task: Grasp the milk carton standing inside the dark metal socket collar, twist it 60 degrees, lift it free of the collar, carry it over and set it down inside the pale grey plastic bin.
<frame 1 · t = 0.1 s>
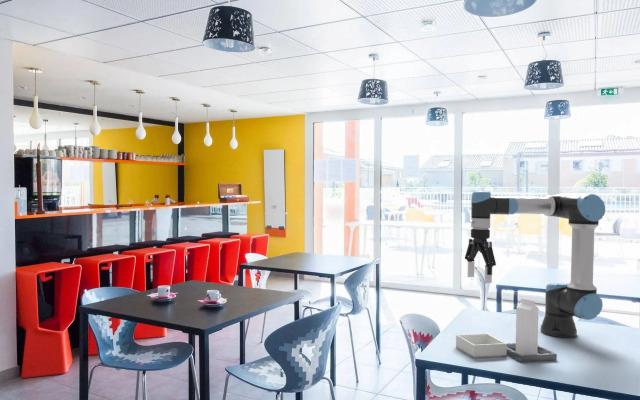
hand: (479, 279, 209), 28 cm above the table, fingers open, 13 cm apart
bin: (480, 351, 203), on the table
collar: (526, 354, 200), on the table
milk: (526, 355, 200), resting in collar
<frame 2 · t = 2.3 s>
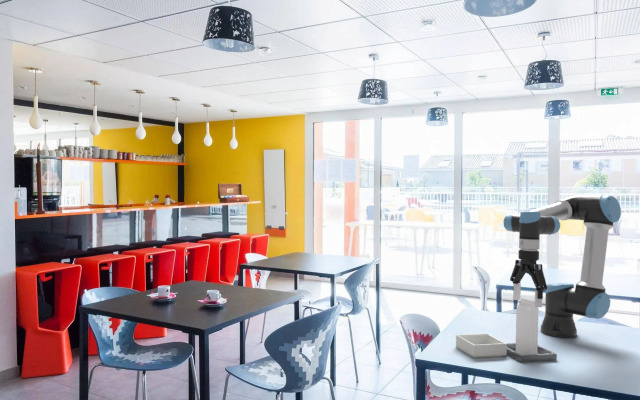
hand: (527, 303, 200), 21 cm above the table, fingers open, 13 cm apart
nothing on the table moved.
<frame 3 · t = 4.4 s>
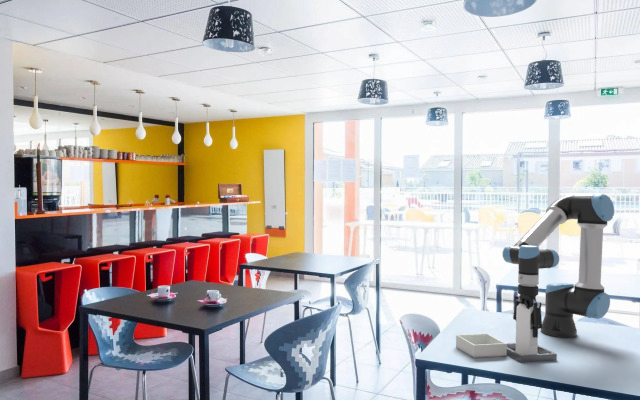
hand: (526, 341, 200), 5 cm above the table, fingers closed on milk, 8 cm apart
milk: (526, 355, 200), resting in collar, touching gripper
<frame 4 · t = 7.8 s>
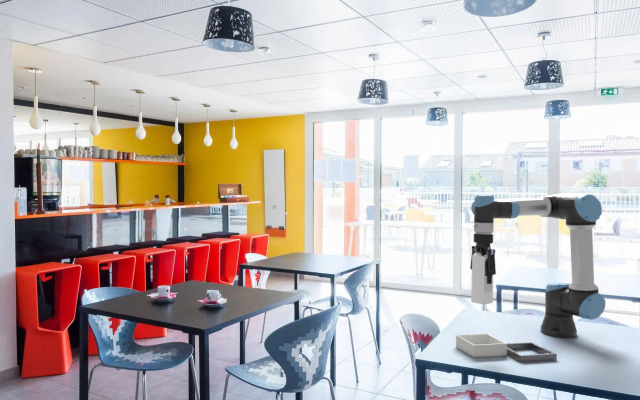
hand: (482, 289, 203), 25 cm above the table, fingers closed on milk, 8 cm apart
milk: (481, 303, 203), point 20 cm above the table, touching gripper
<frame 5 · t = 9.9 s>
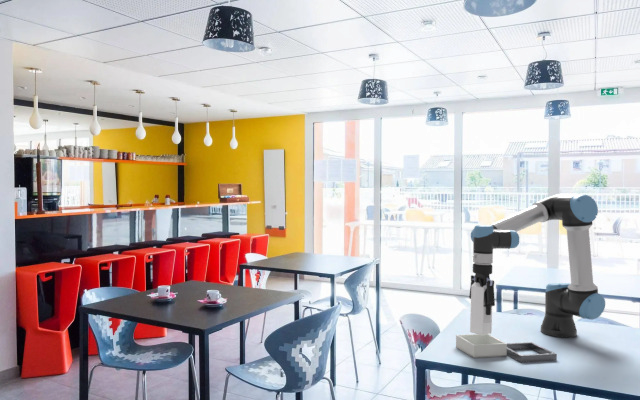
hand: (481, 319, 203), 13 cm above the table, fingers closed on milk, 8 cm apart
milk: (480, 333, 203), point 7 cm above the table, touching gripper
when the fingers open (7 cm above the table, at t = 11.5 s): milk drops 1 cm, resting on bin.
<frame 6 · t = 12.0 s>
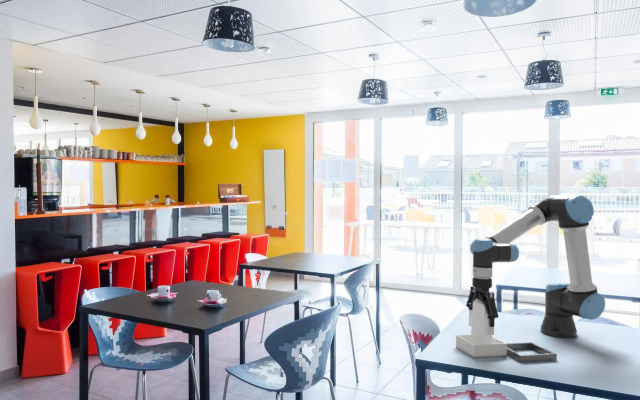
hand: (481, 330, 203), 9 cm above the table, fingers open, 13 cm apart
milk: (480, 350, 203), point 1 cm above the table, touching bin
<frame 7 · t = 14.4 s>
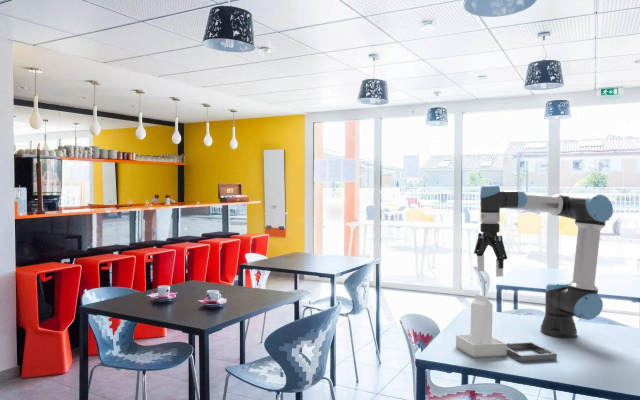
hand: (489, 273, 210), 30 cm above the table, fingers open, 13 cm apart
nothing on the table moved.
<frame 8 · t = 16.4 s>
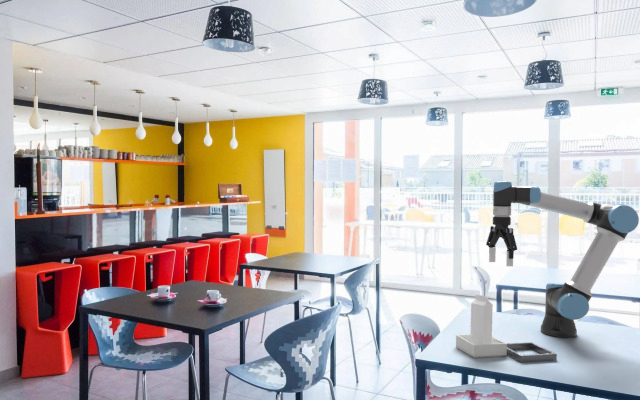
hand: (500, 264, 224), 33 cm above the table, fingers open, 13 cm apart
nothing on the table moved.
at the end: milk inside the target area on the bin (0.1 cm from its centre), point 0.4 cm above the bin's base; milk tilted 0°; the gripper is holding nothing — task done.
